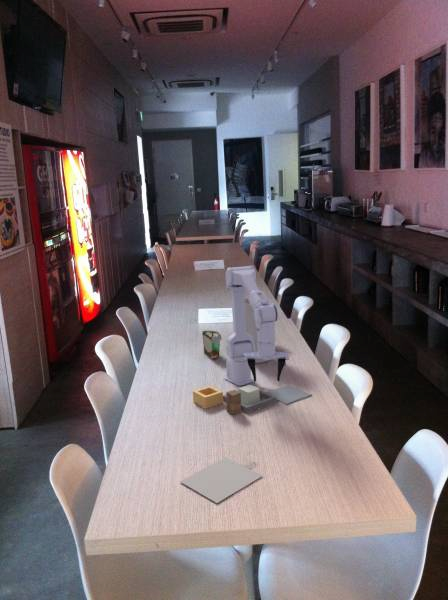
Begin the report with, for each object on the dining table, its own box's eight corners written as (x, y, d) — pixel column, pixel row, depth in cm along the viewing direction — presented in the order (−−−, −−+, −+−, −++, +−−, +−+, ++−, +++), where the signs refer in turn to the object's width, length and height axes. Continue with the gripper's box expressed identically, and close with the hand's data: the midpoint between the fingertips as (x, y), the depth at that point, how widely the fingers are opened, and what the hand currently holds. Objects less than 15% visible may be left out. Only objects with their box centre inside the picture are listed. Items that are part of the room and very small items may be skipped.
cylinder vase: (235, 358, 236) (234, 301, 230) (257, 351, 244) (256, 295, 238) (256, 366, 227) (254, 306, 221) (277, 358, 235) (277, 300, 229)
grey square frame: (222, 401, 194) (222, 395, 194) (252, 391, 202) (251, 386, 201) (246, 413, 184) (246, 407, 184) (276, 402, 192) (276, 397, 191)
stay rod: (226, 411, 186) (226, 392, 184) (234, 409, 188) (234, 389, 186) (233, 415, 183) (232, 395, 182) (241, 412, 185) (240, 392, 184)
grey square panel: (157, 470, 152) (157, 468, 152) (223, 438, 169) (222, 436, 169) (217, 505, 136) (216, 503, 135) (283, 465, 153) (283, 463, 152)
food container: (226, 358, 236) (225, 336, 234) (212, 361, 234) (212, 338, 232) (216, 350, 248) (215, 328, 245) (202, 352, 245) (202, 330, 243)
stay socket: (193, 401, 195) (192, 391, 194) (210, 396, 199) (210, 385, 198) (205, 408, 189) (205, 397, 188) (223, 402, 193) (222, 391, 192)
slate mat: (263, 394, 199) (263, 392, 199) (288, 385, 206) (288, 384, 206) (286, 404, 190) (286, 403, 190) (311, 395, 197) (311, 394, 197)
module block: (239, 401, 194) (238, 388, 192) (250, 398, 196) (250, 384, 195) (248, 406, 190) (248, 392, 189) (259, 402, 193) (259, 388, 191)
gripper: (243, 345, 179) (244, 385, 182) (289, 344, 178) (289, 384, 182) (244, 338, 186) (245, 376, 189) (288, 337, 185) (288, 376, 188)
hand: (266, 380), depth 186 cm, fingers open, 7 cm apart
